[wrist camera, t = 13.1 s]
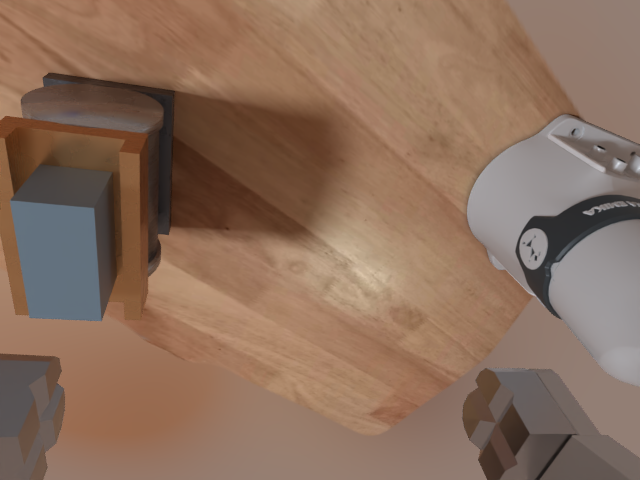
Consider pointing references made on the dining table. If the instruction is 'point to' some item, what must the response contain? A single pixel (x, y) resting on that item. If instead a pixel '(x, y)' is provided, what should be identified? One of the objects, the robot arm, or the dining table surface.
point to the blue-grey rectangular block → (66, 241)
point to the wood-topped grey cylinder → (96, 168)
